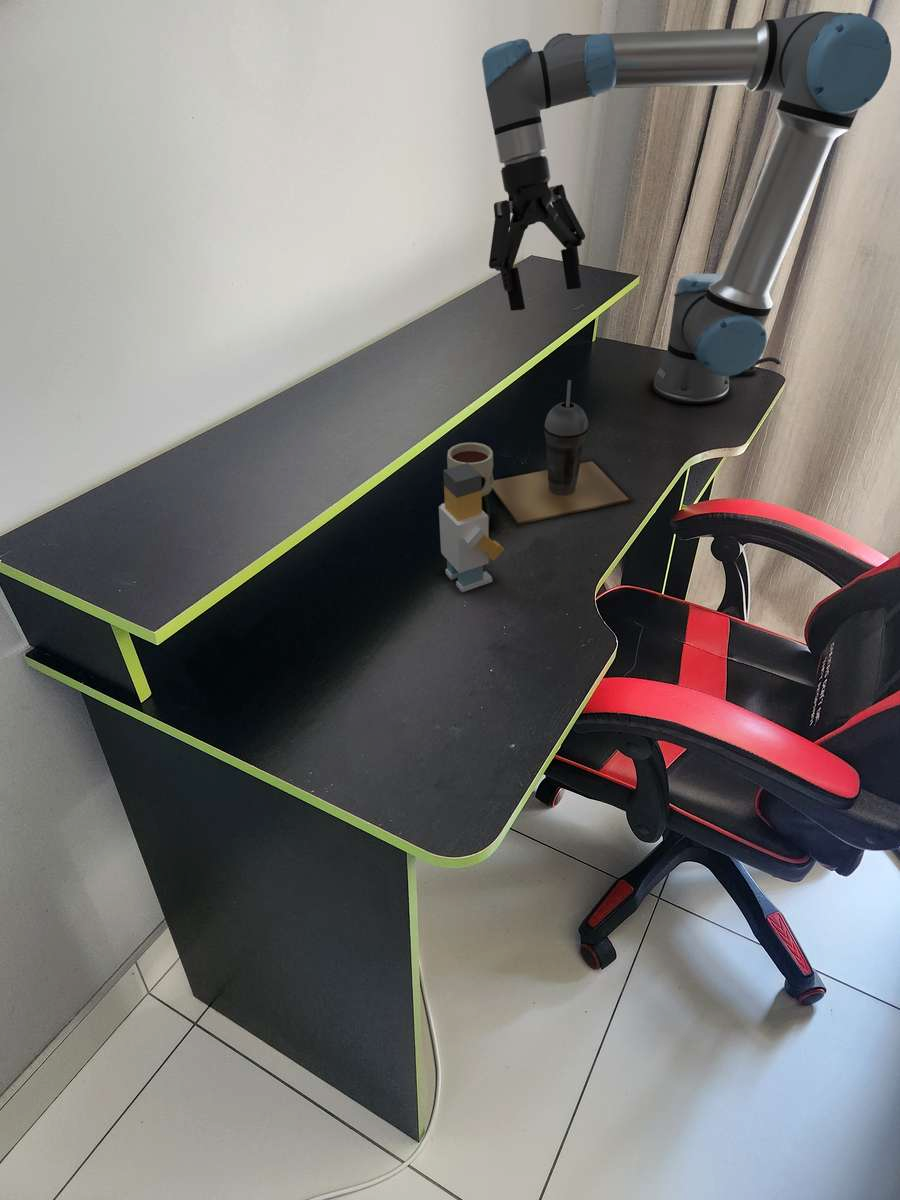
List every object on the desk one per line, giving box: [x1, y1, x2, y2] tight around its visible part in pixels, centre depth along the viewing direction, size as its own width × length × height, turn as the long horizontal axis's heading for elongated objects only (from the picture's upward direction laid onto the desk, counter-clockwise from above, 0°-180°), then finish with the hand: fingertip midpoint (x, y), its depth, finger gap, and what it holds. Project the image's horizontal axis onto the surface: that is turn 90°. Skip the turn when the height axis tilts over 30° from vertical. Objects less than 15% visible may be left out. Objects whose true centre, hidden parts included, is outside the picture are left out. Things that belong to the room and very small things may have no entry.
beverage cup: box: [543, 379, 590, 496], centre depth 128 cm, size 7×7×20 cm
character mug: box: [446, 442, 495, 526], centre depth 123 cm, size 11×7×13 cm, turn 141°
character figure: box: [438, 463, 505, 593], centre depth 110 cm, size 8×10×18 cm
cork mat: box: [492, 460, 630, 526], centre depth 134 cm, size 20×14×1 cm
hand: (546, 299), depth 133 cm, fingers open, 13 cm apart
